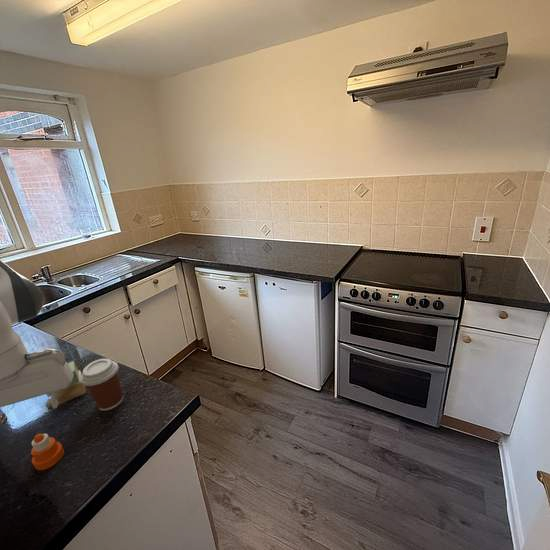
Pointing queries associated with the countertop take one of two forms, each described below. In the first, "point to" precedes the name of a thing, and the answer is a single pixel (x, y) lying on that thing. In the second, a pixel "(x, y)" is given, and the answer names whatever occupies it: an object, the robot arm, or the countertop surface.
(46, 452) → the cone
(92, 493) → the countertop surface
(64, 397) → the base block
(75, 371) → the top block
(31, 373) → the robot arm
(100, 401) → the coffee cup
